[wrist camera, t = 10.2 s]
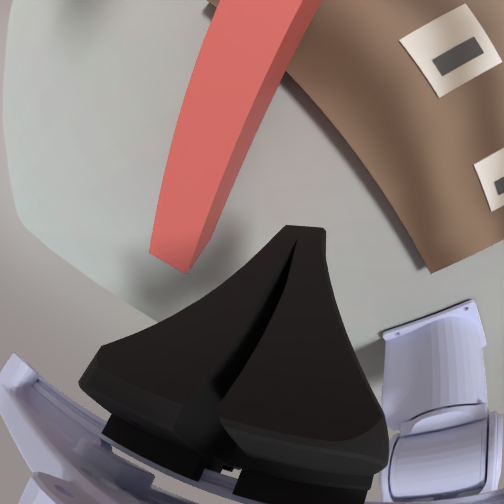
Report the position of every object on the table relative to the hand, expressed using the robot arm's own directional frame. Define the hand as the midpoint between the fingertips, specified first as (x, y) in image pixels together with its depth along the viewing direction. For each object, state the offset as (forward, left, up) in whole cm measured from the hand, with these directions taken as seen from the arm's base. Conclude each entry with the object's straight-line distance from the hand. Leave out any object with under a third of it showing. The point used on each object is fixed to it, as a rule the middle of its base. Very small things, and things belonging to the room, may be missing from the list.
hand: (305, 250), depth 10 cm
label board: (+10, +1, -9) cm, 14 cm away
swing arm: (0, +6, -8) cm, 10 cm away
